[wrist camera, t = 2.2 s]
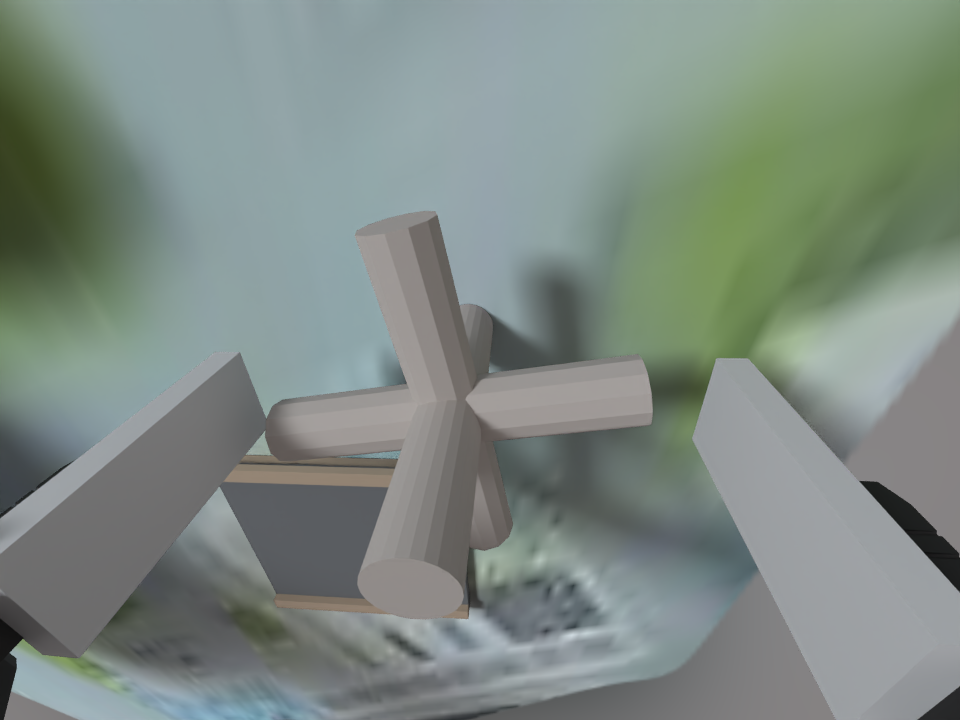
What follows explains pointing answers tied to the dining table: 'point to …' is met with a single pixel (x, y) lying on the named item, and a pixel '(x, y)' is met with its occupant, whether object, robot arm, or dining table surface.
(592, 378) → the pipe connector
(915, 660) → the robot arm
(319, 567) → the mat
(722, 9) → the dining table surface
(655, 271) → the dining table surface
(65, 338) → the dining table surface
